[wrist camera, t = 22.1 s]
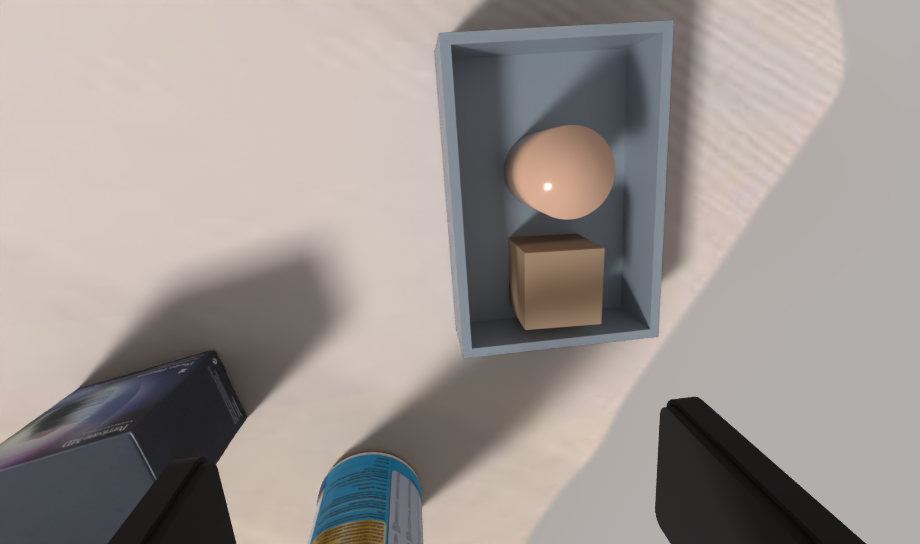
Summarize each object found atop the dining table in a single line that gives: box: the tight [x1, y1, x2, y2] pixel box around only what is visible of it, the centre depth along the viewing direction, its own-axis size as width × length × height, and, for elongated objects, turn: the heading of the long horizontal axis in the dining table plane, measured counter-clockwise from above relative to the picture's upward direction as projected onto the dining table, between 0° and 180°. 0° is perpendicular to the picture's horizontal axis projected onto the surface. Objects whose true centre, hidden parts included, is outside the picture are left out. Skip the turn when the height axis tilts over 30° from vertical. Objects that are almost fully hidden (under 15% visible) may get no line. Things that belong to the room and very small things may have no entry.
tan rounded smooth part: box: [504, 125, 615, 220], centre depth 29 cm, size 5×5×7 cm
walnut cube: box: [508, 233, 605, 330], centre depth 32 cm, size 5×5×5 cm
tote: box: [434, 20, 674, 358], centre depth 31 cm, size 19×13×5 cm
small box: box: [0, 351, 247, 544], centre depth 29 cm, size 11×6×10 cm, turn 106°
